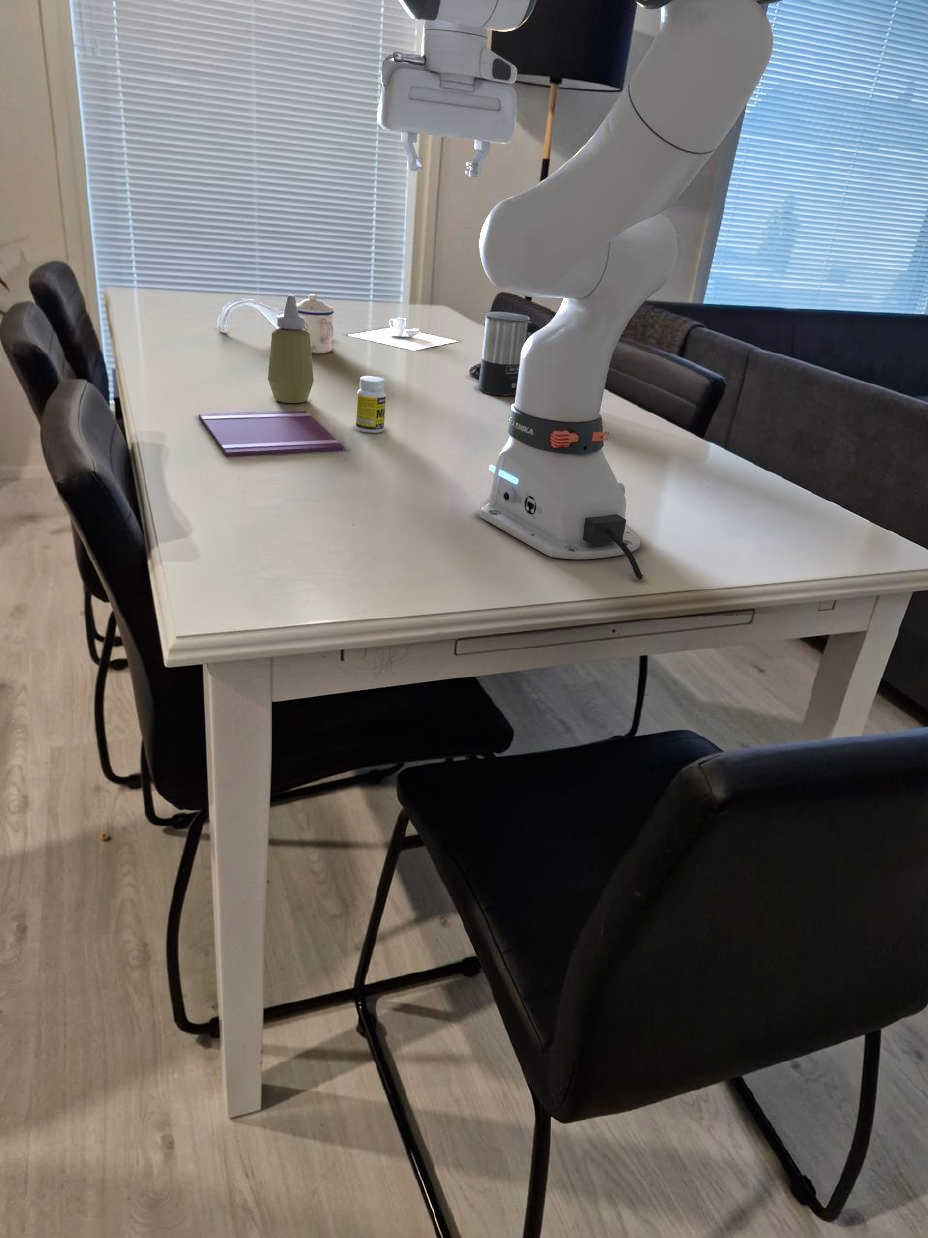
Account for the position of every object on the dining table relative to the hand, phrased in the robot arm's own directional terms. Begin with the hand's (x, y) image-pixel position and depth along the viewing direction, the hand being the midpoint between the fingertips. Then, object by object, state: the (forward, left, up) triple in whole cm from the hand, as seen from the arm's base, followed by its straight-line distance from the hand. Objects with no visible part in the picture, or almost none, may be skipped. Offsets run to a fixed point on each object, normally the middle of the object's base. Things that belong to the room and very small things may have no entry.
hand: (444, 173), depth 126 cm
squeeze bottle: (+25, +15, -40) cm, 49 cm away
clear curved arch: (+85, +3, -40) cm, 94 cm away
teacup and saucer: (+78, -29, -40) cm, 92 cm away
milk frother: (+32, -30, -40) cm, 59 cm away
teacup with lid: (+64, -2, -39) cm, 76 cm away
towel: (+6, +24, -39) cm, 46 cm away
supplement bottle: (+6, +7, -40) cm, 41 cm away
